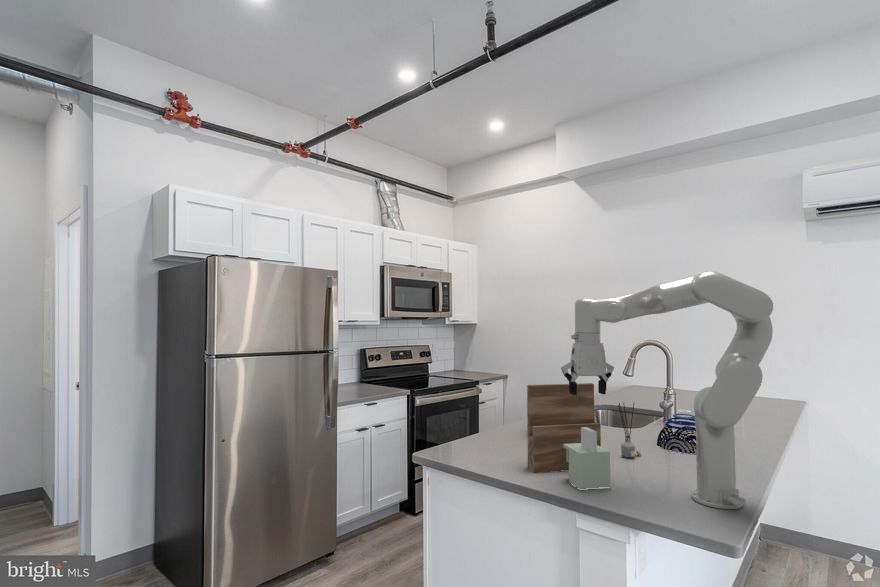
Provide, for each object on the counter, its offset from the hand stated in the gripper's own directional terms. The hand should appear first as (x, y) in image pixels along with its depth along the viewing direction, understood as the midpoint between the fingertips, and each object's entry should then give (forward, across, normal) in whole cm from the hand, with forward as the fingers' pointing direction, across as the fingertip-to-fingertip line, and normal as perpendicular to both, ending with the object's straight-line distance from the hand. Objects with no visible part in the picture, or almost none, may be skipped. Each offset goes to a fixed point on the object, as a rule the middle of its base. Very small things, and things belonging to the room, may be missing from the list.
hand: (587, 394), depth 147 cm
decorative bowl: (+28, +59, +32) cm, 73 cm away
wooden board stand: (+28, 0, +17) cm, 32 cm away
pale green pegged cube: (+28, 0, +2) cm, 28 cm away
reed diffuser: (+28, +29, +25) cm, 47 cm away
